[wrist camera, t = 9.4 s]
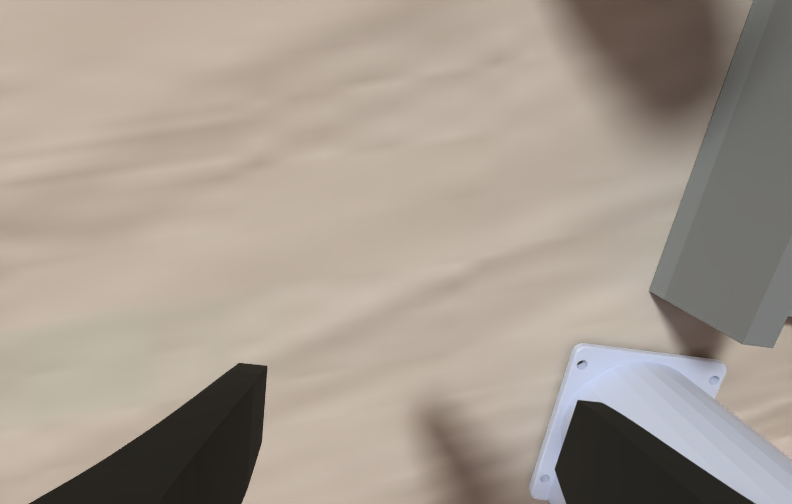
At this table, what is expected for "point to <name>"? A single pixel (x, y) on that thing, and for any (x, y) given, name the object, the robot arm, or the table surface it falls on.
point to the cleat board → (741, 195)
